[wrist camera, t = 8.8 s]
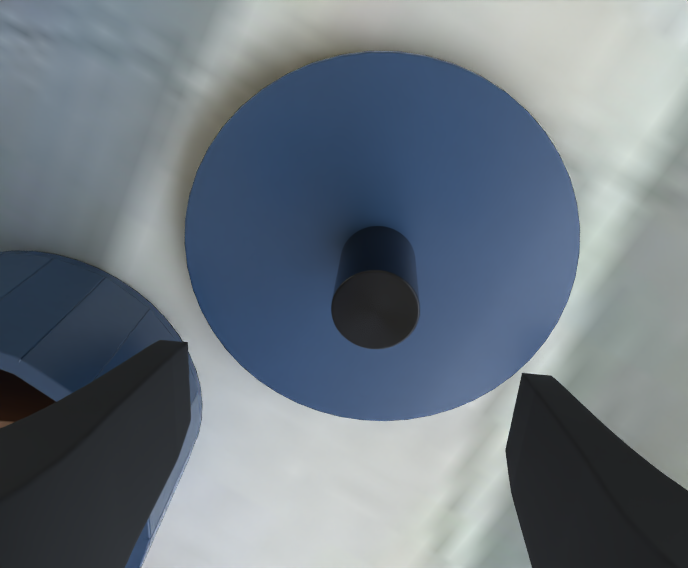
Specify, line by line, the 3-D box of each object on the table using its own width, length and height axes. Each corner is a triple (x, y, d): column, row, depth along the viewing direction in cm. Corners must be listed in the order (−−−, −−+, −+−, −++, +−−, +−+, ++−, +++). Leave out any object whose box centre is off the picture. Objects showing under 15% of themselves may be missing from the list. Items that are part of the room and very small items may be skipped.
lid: (530, 418, 23) (561, 512, 19) (199, 387, 24) (157, 471, 20) (613, 65, 18) (682, 85, 14) (186, 33, 19) (125, 43, 14)
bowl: (206, 515, 26) (159, 645, 21) (-59, 488, 27) (-171, 609, 22) (197, 265, 22) (134, 351, 16) (-125, 236, 22) (-291, 311, 17)
